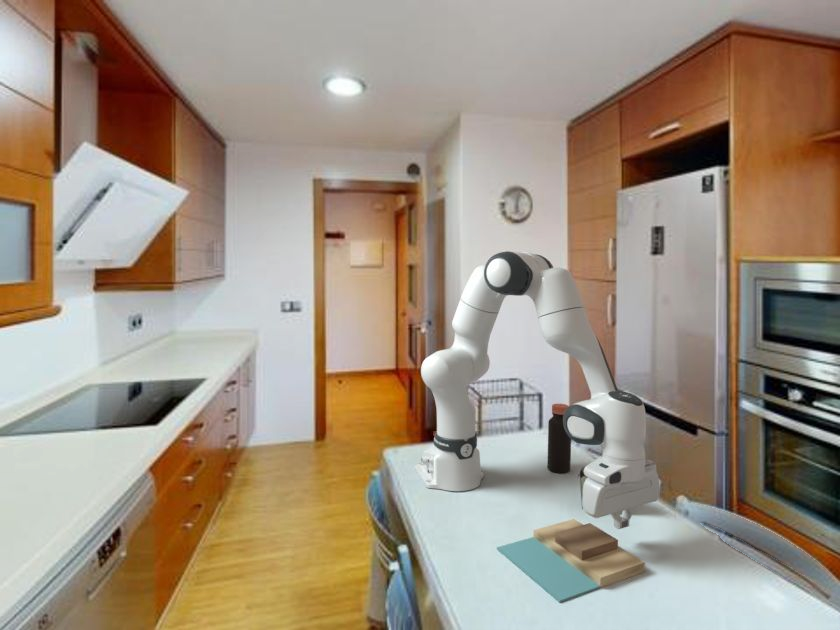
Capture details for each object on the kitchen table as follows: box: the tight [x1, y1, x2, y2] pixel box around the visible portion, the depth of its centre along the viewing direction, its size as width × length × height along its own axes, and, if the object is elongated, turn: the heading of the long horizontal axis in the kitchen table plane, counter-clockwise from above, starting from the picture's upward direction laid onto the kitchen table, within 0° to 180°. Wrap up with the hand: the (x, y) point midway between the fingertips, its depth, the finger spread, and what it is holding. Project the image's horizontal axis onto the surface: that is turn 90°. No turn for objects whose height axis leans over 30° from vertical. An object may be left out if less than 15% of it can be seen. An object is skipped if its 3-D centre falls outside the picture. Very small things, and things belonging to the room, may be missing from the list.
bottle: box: [547, 403, 572, 474], centre depth 155 cm, size 7×7×20 cm
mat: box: [496, 536, 601, 603], centre depth 104 cm, size 20×10×1 cm, turn 26°
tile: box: [555, 522, 619, 560], centre depth 108 cm, size 8×10×2 cm
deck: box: [532, 518, 646, 589], centre depth 109 cm, size 20×12×2 cm, turn 26°
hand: (621, 526), depth 113 cm, fingers closed
